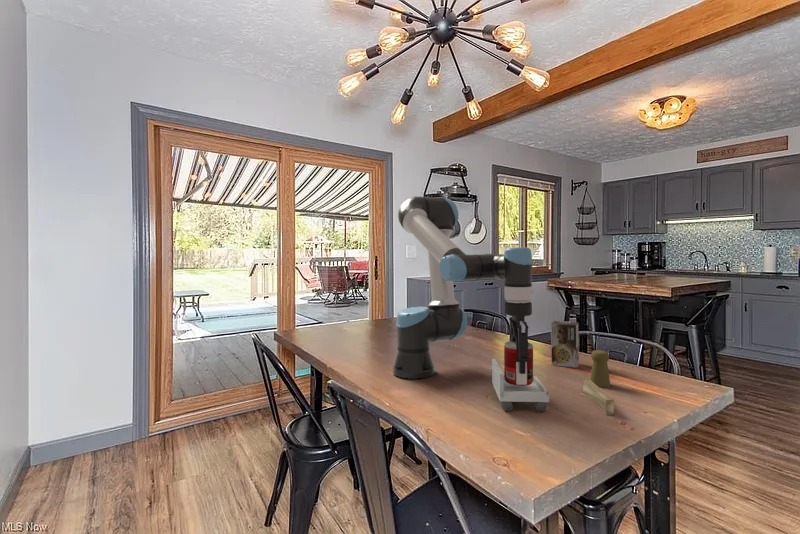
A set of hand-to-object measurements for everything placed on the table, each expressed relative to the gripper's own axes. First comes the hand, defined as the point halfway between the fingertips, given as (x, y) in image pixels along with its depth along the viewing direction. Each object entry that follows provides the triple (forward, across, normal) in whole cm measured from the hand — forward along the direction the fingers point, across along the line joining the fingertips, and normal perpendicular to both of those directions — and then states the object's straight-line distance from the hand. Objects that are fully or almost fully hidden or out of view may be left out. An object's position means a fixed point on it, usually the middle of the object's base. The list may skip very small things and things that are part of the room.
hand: (518, 379), depth 115 cm
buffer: (+7, 0, -22) cm, 23 cm away
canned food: (+1, 0, 0) cm, 1 cm away
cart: (+7, 0, 0) cm, 7 cm away
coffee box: (+7, +38, -25) cm, 46 cm away
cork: (+7, +16, -29) cm, 34 cm away
